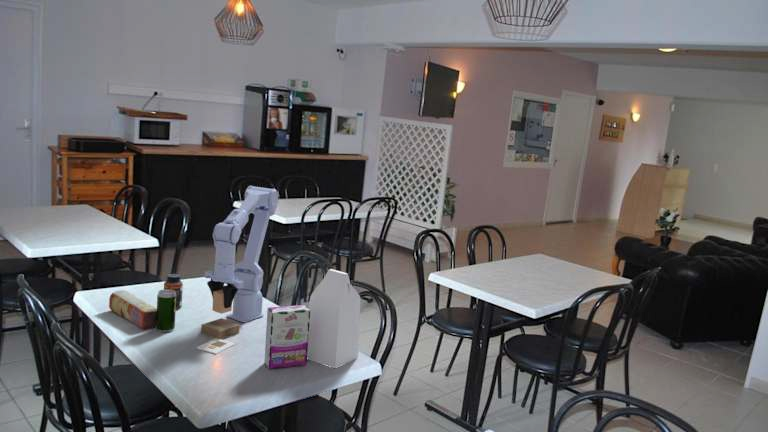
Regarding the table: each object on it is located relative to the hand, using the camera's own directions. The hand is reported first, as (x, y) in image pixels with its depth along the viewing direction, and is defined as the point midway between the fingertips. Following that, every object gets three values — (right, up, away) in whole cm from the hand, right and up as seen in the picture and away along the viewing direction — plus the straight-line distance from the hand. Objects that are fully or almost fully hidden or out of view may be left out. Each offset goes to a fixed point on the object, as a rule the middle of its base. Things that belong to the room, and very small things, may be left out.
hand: (222, 305), depth 186 cm
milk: (+34, -14, -8) cm, 37 cm away
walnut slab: (-1, -9, +2) cm, 9 cm away
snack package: (-29, -5, +6) cm, 31 cm away
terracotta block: (0, -2, 0) cm, 2 cm away
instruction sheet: (+1, -11, -9) cm, 14 cm away
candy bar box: (+22, -14, -16) cm, 30 cm away
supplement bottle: (-22, -4, +19) cm, 29 cm away
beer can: (-17, -8, 0) cm, 19 cm away
